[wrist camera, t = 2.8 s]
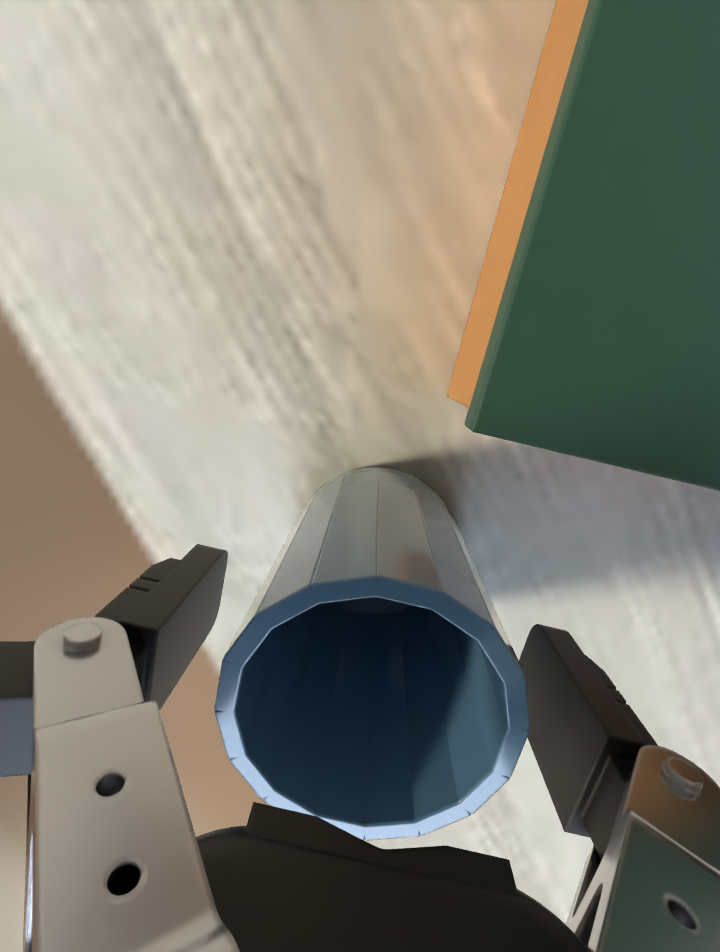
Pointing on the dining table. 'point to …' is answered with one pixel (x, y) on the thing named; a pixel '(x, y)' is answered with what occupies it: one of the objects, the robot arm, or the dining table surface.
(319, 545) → the cup
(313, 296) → the dining table surface
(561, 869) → the dining table surface
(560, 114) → the container
